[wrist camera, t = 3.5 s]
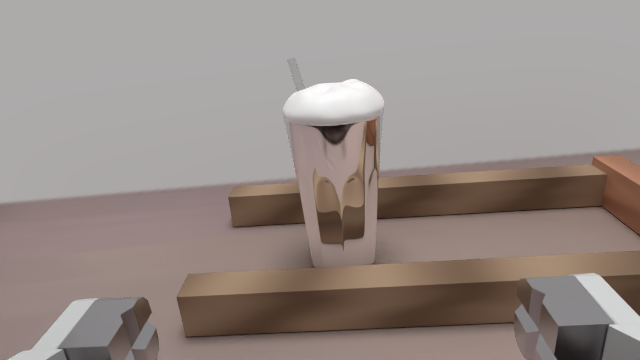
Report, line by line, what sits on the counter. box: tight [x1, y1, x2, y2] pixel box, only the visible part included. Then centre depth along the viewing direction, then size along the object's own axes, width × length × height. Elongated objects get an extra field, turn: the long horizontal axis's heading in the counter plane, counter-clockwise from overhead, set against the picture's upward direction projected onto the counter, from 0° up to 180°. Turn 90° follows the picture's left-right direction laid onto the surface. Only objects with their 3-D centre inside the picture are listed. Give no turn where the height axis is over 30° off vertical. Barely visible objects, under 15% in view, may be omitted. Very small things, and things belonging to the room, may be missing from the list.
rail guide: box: [177, 155, 640, 337], centre depth 23 cm, size 24×11×2 cm, turn 88°
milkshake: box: [283, 58, 384, 268], centre depth 22 cm, size 5×5×10 cm
